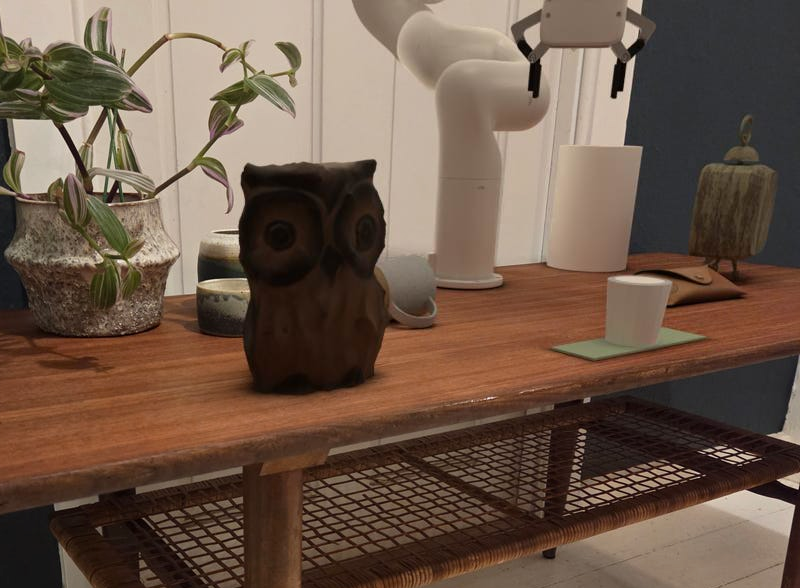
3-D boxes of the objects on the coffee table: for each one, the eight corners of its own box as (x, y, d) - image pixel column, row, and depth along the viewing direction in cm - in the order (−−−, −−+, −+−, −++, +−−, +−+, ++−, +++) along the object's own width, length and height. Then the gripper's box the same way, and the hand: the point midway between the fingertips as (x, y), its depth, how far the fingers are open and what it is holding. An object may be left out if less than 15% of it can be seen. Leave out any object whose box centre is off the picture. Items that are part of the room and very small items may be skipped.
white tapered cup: (631, 350, 96) (640, 286, 94) (586, 337, 102) (594, 276, 99) (676, 344, 99) (686, 281, 96) (630, 332, 105) (639, 272, 102)
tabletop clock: (704, 271, 153) (731, 115, 144) (760, 276, 148) (792, 115, 139) (681, 281, 142) (709, 113, 133) (741, 287, 137) (774, 114, 128)
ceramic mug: (348, 316, 113) (350, 255, 110) (398, 309, 117) (401, 250, 114) (401, 333, 105) (405, 267, 102) (452, 325, 109) (457, 262, 106)
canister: (629, 263, 160) (646, 146, 152) (620, 274, 148) (638, 147, 141) (554, 258, 165) (567, 144, 157) (540, 268, 153) (553, 145, 146)
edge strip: (593, 361, 93) (593, 358, 93) (550, 349, 98) (550, 346, 97) (706, 338, 103) (706, 336, 103) (662, 329, 108) (662, 327, 108)
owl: (390, 372, 87) (399, 158, 80) (347, 407, 77) (353, 163, 69) (274, 359, 92) (272, 155, 84) (217, 390, 81) (210, 159, 73)
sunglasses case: (672, 304, 120) (658, 258, 121) (633, 322, 126) (619, 278, 127) (752, 294, 129) (738, 251, 130) (711, 311, 135) (698, 270, 136)
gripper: (664, -54, 107) (643, 99, 113) (519, -49, 111) (507, 98, 118) (670, -66, 100) (647, 97, 107) (516, -61, 104) (502, 97, 111)
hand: (574, 98), depth 112 cm, fingers open, 9 cm apart
